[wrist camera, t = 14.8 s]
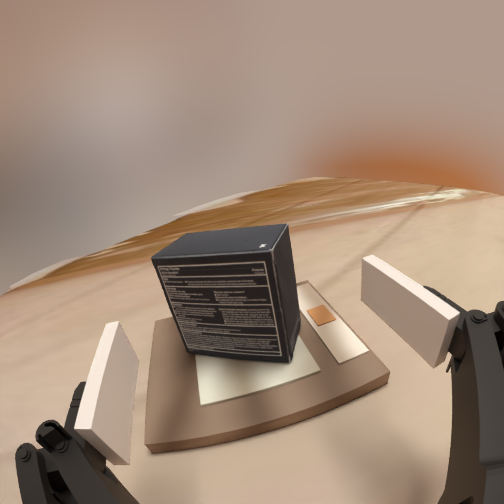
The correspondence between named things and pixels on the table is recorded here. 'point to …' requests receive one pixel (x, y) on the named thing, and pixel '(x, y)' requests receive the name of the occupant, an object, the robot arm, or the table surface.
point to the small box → (233, 292)
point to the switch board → (255, 382)
